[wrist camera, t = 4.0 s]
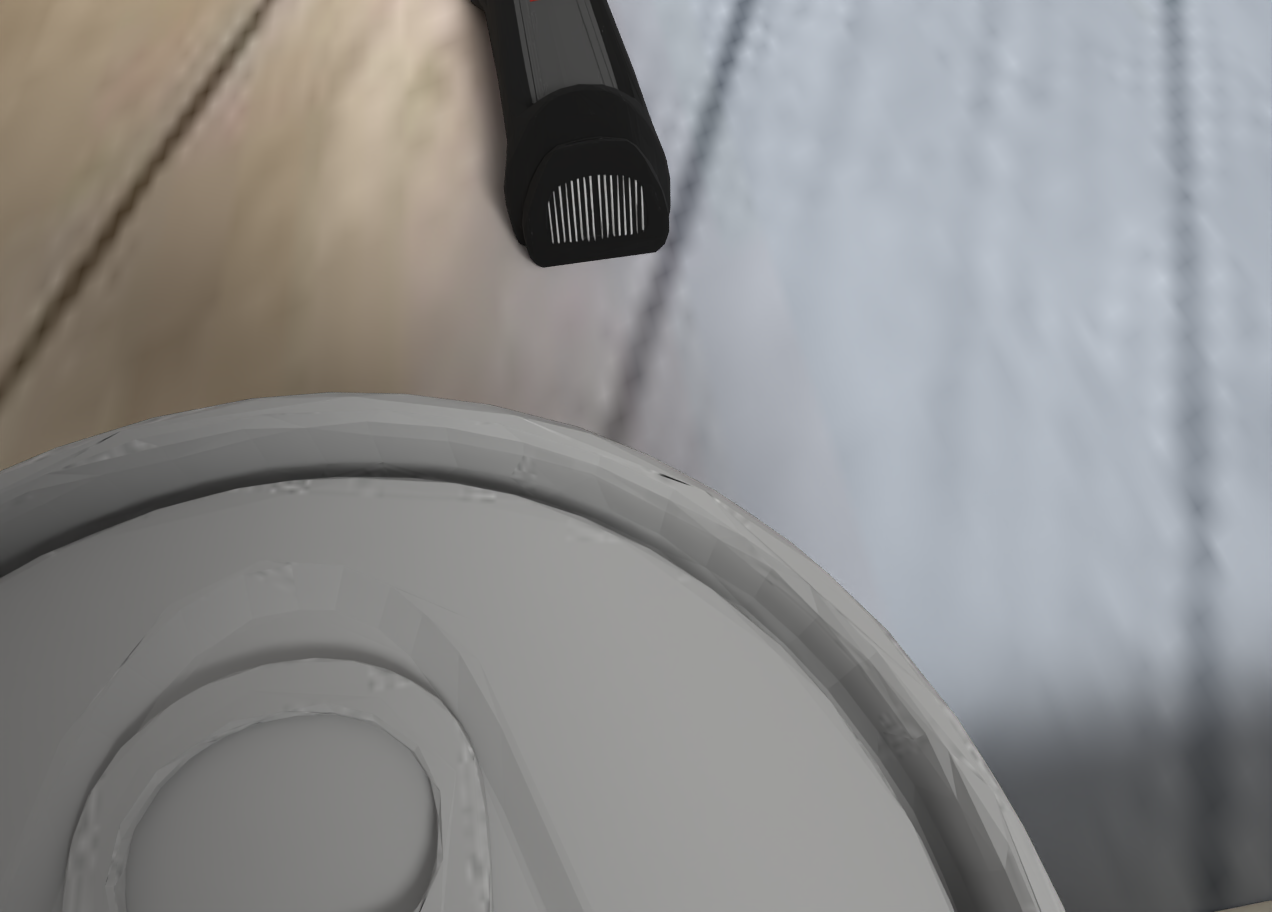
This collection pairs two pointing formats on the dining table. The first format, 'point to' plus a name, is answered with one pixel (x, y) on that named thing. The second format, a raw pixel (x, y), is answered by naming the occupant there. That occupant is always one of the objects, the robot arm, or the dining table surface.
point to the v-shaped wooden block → (1252, 908)
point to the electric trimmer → (575, 134)
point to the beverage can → (455, 684)
